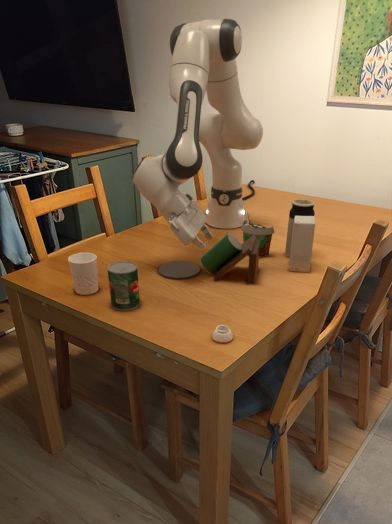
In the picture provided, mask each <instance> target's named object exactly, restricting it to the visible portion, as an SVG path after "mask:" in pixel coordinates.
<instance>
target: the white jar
mask: <svg viewBox="0 0 392 524" xmlns="http://www.w3.org/2000/svg"><path fill="white" fill-rule="evenodd" d="M233 338H234V334H233V332H232V330H231V329H230V327H229V326H228V325H226V324H219V325H217V326H216V328H215V329H214V331H213V332H212V333H211V339H212V340H213V341H215V342H217V343H228V342H231V341H232V340H233Z"/></svg>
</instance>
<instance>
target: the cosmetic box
mask: <svg viewBox="0 0 392 524" xmlns="http://www.w3.org/2000/svg"><path fill="white" fill-rule="evenodd" d="M315 229H316V216H315V215H314V216H295V218H294V225H293V233H292V243H291V254H290V257H289V271H290V272H298V273H299V272H301V273H310V270H311V262H312V255H313V247H314V246H313V245H314V237H315Z"/></svg>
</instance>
